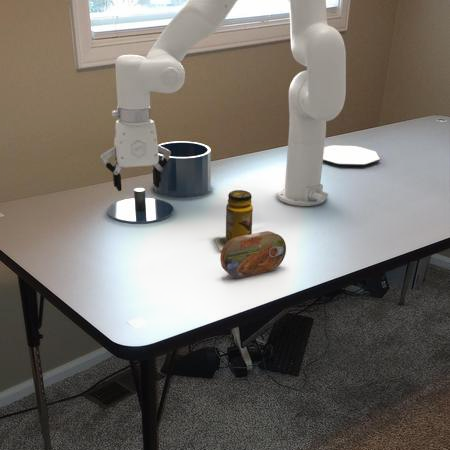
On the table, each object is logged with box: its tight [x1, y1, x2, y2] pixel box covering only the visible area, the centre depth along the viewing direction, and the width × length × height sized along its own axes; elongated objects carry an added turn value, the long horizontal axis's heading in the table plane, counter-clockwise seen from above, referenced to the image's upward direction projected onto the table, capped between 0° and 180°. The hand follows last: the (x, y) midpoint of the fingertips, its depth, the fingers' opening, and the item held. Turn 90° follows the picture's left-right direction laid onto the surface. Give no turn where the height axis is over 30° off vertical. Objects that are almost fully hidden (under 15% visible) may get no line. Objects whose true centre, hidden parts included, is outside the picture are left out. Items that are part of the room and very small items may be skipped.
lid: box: [107, 187, 175, 225], centre depth 165 cm, size 17×17×6 cm
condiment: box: [213, 189, 254, 252], centre depth 149 cm, size 7×8×12 cm
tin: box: [219, 230, 287, 279], centre depth 138 cm, size 15×3×8 cm, turn 117°
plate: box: [323, 145, 381, 166], centre depth 208 cm, size 20×20×2 cm
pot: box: [152, 141, 212, 199], centre depth 179 cm, size 16×16×11 cm
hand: (137, 187), depth 163 cm, fingers open, 9 cm apart
